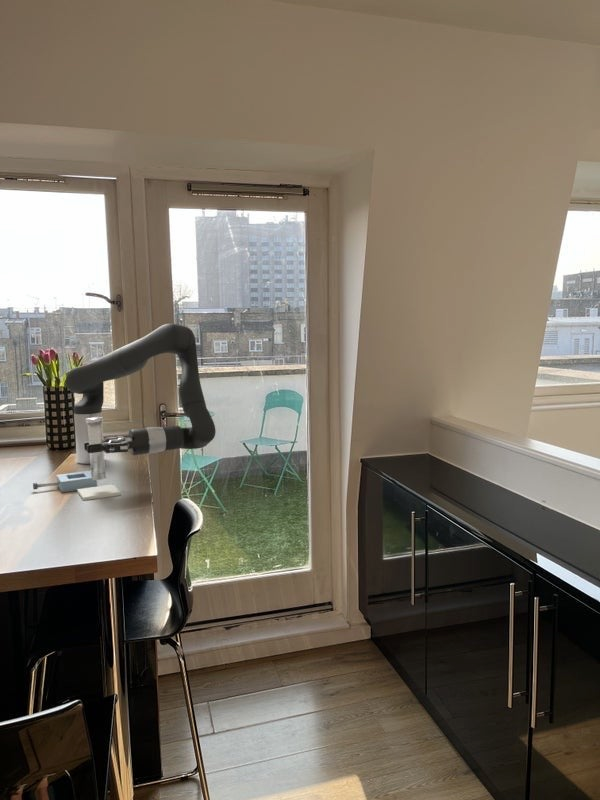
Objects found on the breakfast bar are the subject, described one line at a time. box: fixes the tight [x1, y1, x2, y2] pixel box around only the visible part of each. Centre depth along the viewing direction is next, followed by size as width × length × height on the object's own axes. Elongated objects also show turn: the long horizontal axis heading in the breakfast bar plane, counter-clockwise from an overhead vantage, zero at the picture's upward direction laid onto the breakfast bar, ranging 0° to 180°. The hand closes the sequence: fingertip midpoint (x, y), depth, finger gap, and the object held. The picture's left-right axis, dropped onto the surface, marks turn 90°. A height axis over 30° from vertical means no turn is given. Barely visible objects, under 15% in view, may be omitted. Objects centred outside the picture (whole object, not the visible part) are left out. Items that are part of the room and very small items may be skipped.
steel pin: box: [86, 416, 107, 481], centre depth 173 cm, size 5×5×17 cm
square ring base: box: [32, 470, 98, 493], centre depth 182 cm, size 10×17×3 cm, turn 119°
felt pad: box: [76, 484, 122, 501], centre depth 175 cm, size 10×10×1 cm
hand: (86, 447), depth 172 cm, fingers closed on steel pin, 3 cm apart
